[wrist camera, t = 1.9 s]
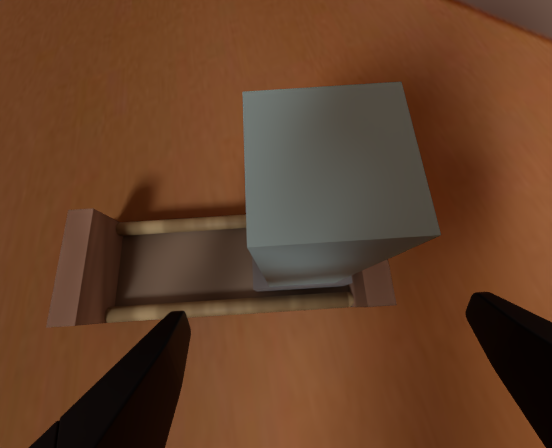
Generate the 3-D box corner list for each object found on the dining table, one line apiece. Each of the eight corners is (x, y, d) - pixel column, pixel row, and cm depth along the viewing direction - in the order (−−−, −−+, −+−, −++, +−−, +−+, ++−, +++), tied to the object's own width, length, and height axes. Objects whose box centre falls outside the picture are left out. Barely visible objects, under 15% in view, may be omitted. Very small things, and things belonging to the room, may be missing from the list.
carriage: (335, 228, 20) (440, 75, 7) (343, 286, 18) (490, 236, 5) (254, 233, 20) (202, 90, 7) (256, 291, 18) (198, 255, 5)
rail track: (355, 214, 21) (374, 190, 17) (370, 305, 19) (396, 305, 15) (106, 230, 21) (62, 210, 17) (93, 323, 19) (38, 327, 15)
